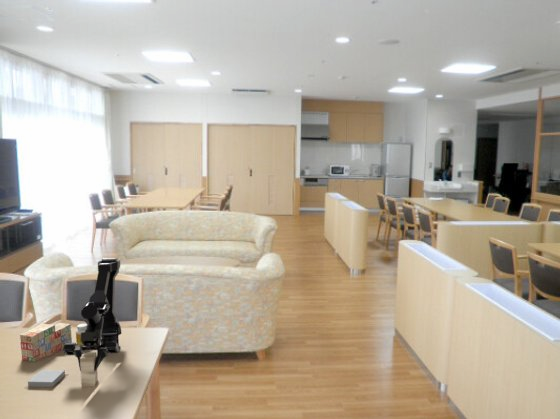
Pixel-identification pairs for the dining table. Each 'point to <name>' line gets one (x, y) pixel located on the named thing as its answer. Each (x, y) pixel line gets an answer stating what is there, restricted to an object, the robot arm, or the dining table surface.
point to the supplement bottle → (80, 330)
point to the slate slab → (46, 378)
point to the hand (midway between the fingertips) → (87, 371)
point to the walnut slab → (49, 387)
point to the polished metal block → (88, 369)
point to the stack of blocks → (44, 340)
